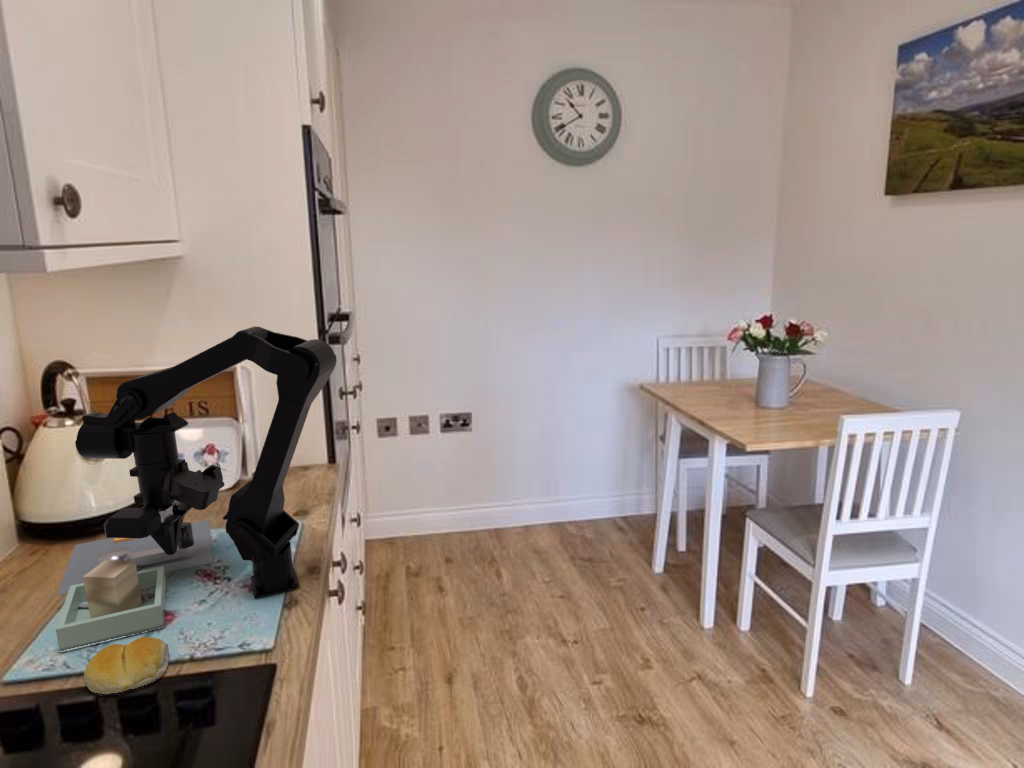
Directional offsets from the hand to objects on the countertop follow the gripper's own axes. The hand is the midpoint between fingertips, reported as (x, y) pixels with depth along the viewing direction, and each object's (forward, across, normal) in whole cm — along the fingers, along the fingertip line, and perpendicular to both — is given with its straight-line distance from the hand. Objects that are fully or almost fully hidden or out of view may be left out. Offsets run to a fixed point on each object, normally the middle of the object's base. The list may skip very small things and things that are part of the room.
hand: (171, 553), depth 101 cm
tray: (+5, -10, +2) cm, 11 cm away
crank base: (+5, +6, +10) cm, 13 cm away
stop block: (+4, -10, +2) cm, 11 cm away
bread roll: (+5, -21, -7) cm, 23 cm away
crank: (+3, +3, +6) cm, 8 cm away
